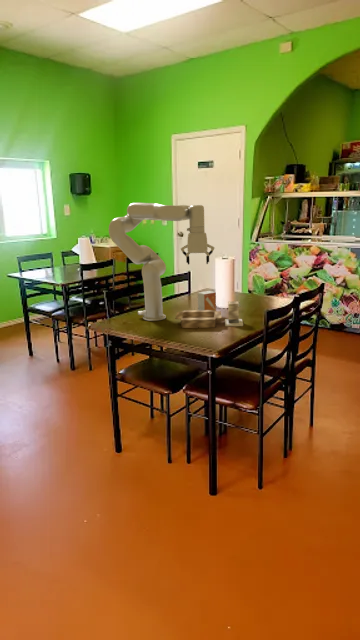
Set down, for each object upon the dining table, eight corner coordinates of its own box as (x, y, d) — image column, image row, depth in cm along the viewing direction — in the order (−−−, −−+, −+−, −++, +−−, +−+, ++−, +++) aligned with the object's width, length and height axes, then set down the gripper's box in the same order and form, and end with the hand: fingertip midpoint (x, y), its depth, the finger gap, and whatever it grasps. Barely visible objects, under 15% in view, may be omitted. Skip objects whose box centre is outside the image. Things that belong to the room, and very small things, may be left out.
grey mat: (225, 326, 221) (225, 324, 220) (224, 321, 230) (224, 319, 230) (243, 326, 220) (243, 324, 220) (241, 320, 230) (241, 318, 229)
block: (228, 323, 222) (228, 304, 220) (228, 320, 228) (228, 301, 225) (238, 323, 222) (238, 304, 219) (238, 320, 228) (237, 301, 225)
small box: (204, 317, 239) (204, 294, 236) (197, 315, 244) (197, 292, 241) (216, 315, 243) (216, 292, 240) (209, 312, 248) (209, 290, 245)
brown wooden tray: (175, 329, 218) (174, 319, 217) (178, 319, 237) (177, 310, 235) (221, 328, 216) (221, 319, 215) (220, 318, 235) (220, 309, 234)
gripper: (179, 231, 218) (180, 265, 223) (214, 230, 217) (214, 264, 221) (180, 230, 225) (181, 263, 230) (214, 229, 224) (214, 262, 228)
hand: (197, 263), depth 225 cm, fingers open, 9 cm apart
